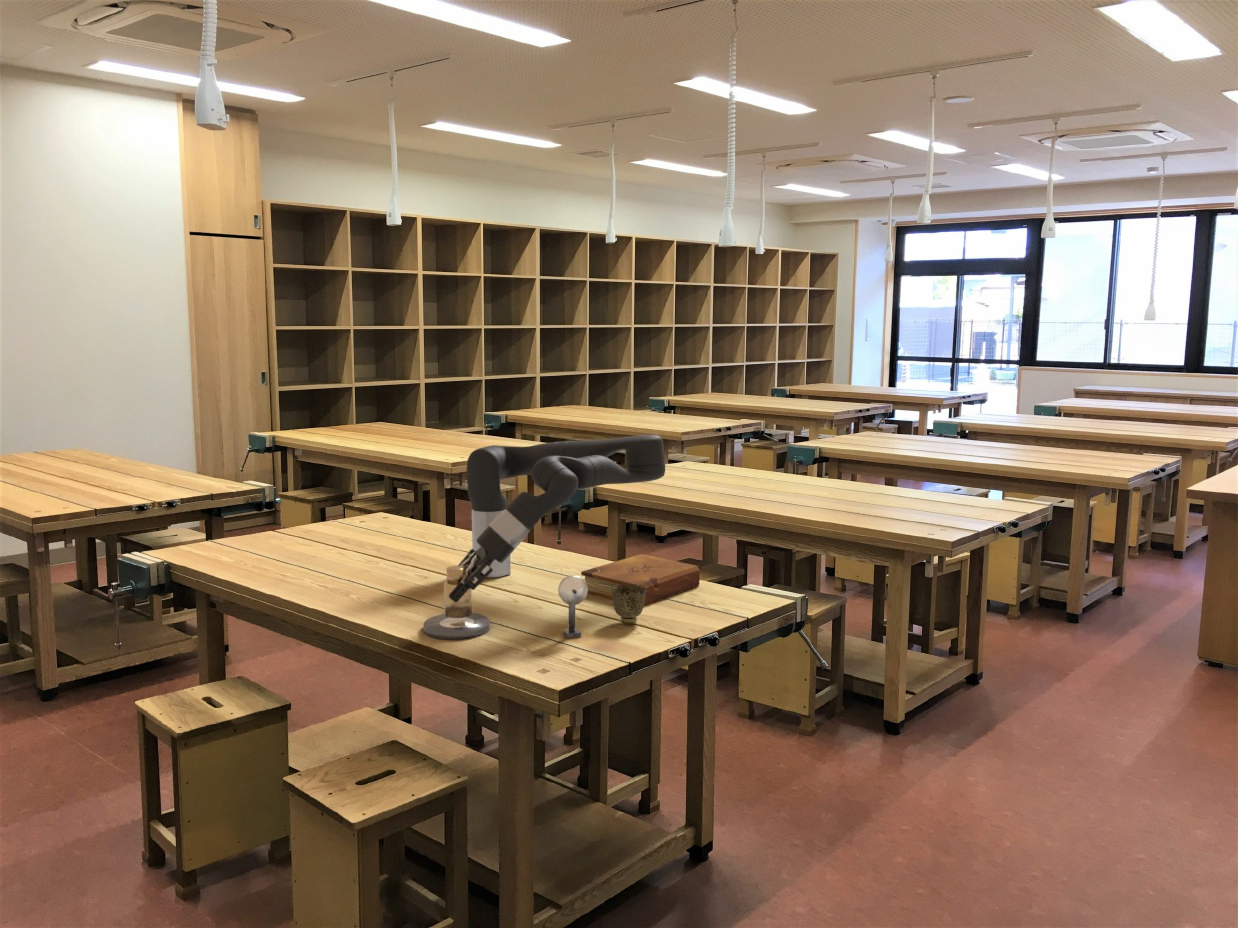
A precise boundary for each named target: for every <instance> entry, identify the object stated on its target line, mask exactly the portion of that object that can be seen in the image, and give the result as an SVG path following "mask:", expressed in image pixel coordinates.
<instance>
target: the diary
mask: <svg viewBox="0 0 1238 928" xmlns="http://www.w3.org/2000/svg"><path fill="white" fill-rule="evenodd" d="M700 571H701V570H700V568H699V567H698V565H696V564H692V563H691V564H690V563H685V562H681V561H676V560H671V559H666V558H661V557H657V556H653V555H649V554H648V555H647V554H643V553H640V554H636V555H633V556H631V557H627V558H622V559H620V560H616V561H613V562H609V563H607V564H603V565H600V566H596V567H593V568H589V569H586V570H582V571H580V575H581V576H583V577H584V581H585V582H586V584H587V587H588V593H589V595H591V594H592V596H595V595H596V596H597V597H599V596H600V598H604V599H607V600H612V601H613V597H612V589H611V587H613V588H614V589H617V585H622V584H623V583H624V584H626V585H628V586H629V585H630V583H631V584H632V586H633V587H634V586H635V585H636V584H637V585H641V587H643V586H644V589H645V587H646V592H645V600H644V606H646V605H648V604H650V603H653V602H654V603H655V602H657V601H660V600H663V599H664V598H668V597H671V596H675V595H677V594H679V592H680V593H682V591H683V592H685V591H688V590H691V589H694V588H696V586H697V587H699V586H700V583H699V582H700V573H701V572H700ZM693 587H694V588H693ZM684 590H685V591H684Z"/></svg>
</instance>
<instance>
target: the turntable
mask: <svg viewBox="0 0 1238 928" xmlns="http://www.w3.org/2000/svg"><path fill="white" fill-rule="evenodd" d="M422 626H423V634H424V635H425V636H427V637H429V638H432V639H437V640H442V641H443V640H444V641H460V640H469V639H472V638H477V636H478V637H480V635H481V636H483V635H485V634H487V633H488V632H489V631H490V629H491V619H490V618H489V617H488V616H486V615H484V614H482V613H481V614H480V613H475V612H472V615H470V616H468V617H464V618H449V617H446V616H445V613H442V614H437V615H433V616H431V617H429V618H427V619H425V620H424V622H423V625H422Z"/></svg>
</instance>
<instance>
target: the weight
mask: <svg viewBox="0 0 1238 928" xmlns="http://www.w3.org/2000/svg"><path fill="white" fill-rule="evenodd" d="M467 568H468V567H466V566H458V565H452V566H448V567H446V580H444V582H443V600H444V601H443V603H444V606H443V607H444V614H445V616H446V617H449V618H464V617H468V616H470V615H472V613H473V594H472V593H473V592H472V591H473V590H472V589H470V590H468V591H467V592H466V593H465V594H464V595H463V596H462V597H461V598H460V599H459V601H458V602H454V601H453V600H451V599H450V598H449V594H450V593H451V592H452V591H453V590H454V588H455V587H456V586H457V585H458V584H459V583H460V582H461V580H462V579H463V578H464V576H465V571H466V569H467Z"/></svg>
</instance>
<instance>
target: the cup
mask: <svg viewBox="0 0 1238 928" xmlns="http://www.w3.org/2000/svg"><path fill="white" fill-rule="evenodd" d="M611 589H612V597H613V600H612V604H613V610H614V612H615V614H617V615H618V616H619V618H620V619H619V621H620V623H621V624H623V625H625V624H627V625H626V626H631V625H630V624H632V625H634V624H636V623H637V620H638V616H640V615H641V613H642V612H643V610H644V608H645V607H644V606H645V605H644V600H645V592H646V587H645V589H644V586H643V587H641V585H637V584H636V585H635V586H634V587H633V586H632V584H631V583H630V585H629V586H628V585H626V584H624V583H623V584H622V585H617V589H614V588H613V587H611Z"/></svg>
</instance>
